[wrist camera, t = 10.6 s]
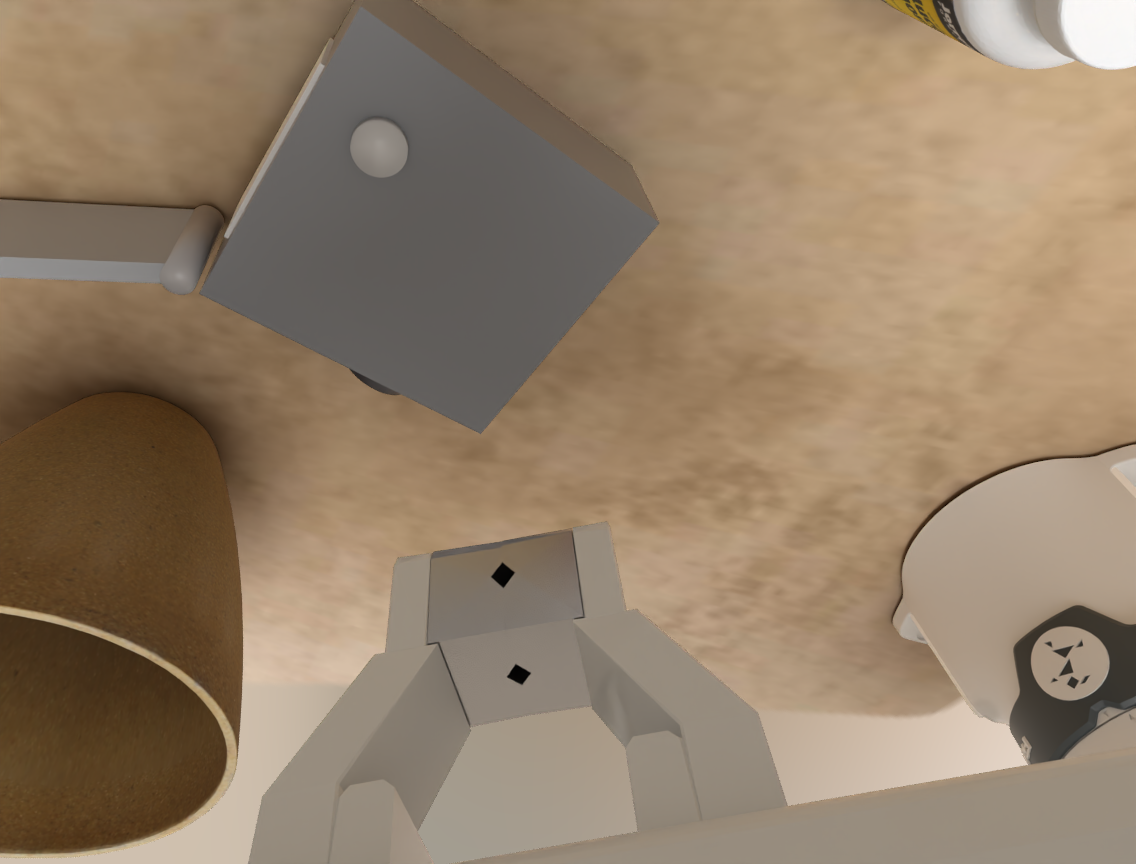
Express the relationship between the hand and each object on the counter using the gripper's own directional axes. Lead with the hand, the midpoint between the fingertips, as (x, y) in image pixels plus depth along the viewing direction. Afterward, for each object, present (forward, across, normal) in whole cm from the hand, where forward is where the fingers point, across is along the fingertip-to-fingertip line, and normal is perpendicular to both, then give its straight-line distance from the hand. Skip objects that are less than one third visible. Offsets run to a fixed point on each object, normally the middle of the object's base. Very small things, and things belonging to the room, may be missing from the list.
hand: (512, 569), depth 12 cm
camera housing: (+25, -3, -4) cm, 26 cm away
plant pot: (+25, -20, -14) cm, 35 cm away
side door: (+24, -17, -2) cm, 30 cm away
